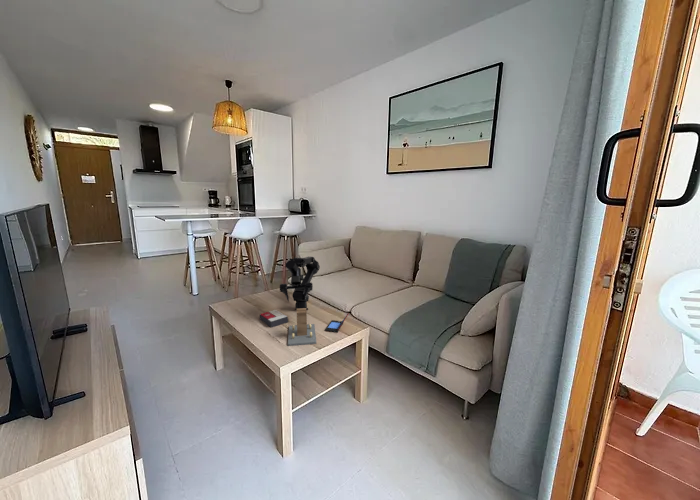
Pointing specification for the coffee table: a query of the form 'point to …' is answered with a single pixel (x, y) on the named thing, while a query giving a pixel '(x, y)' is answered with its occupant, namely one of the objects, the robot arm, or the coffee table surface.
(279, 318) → the grey and red box
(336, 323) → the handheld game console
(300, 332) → the walnut block
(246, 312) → the coffee table surface
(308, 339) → the plate
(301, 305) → the robot arm
